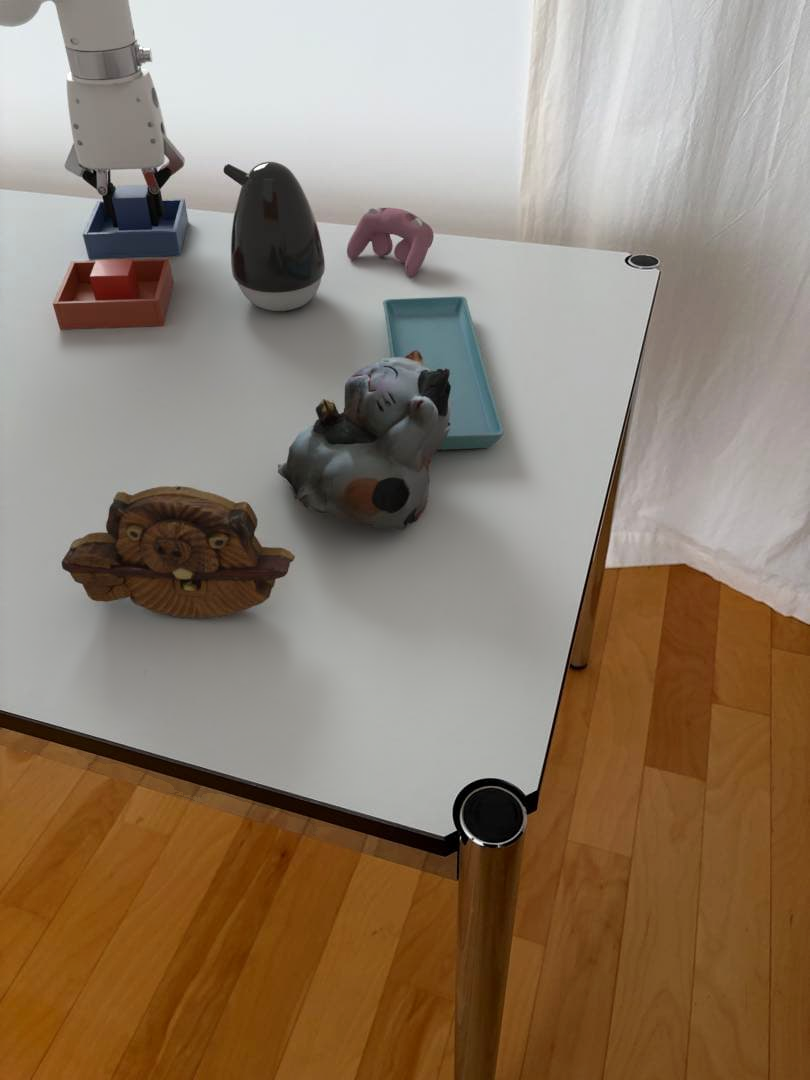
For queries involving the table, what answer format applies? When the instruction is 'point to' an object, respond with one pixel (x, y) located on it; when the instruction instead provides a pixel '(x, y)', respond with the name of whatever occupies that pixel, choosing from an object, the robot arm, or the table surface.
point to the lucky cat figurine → (374, 445)
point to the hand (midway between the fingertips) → (137, 221)
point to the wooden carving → (178, 554)
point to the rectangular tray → (448, 363)
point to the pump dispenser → (274, 239)
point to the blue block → (132, 207)
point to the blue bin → (137, 234)
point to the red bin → (85, 312)
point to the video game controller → (378, 231)
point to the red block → (114, 280)
